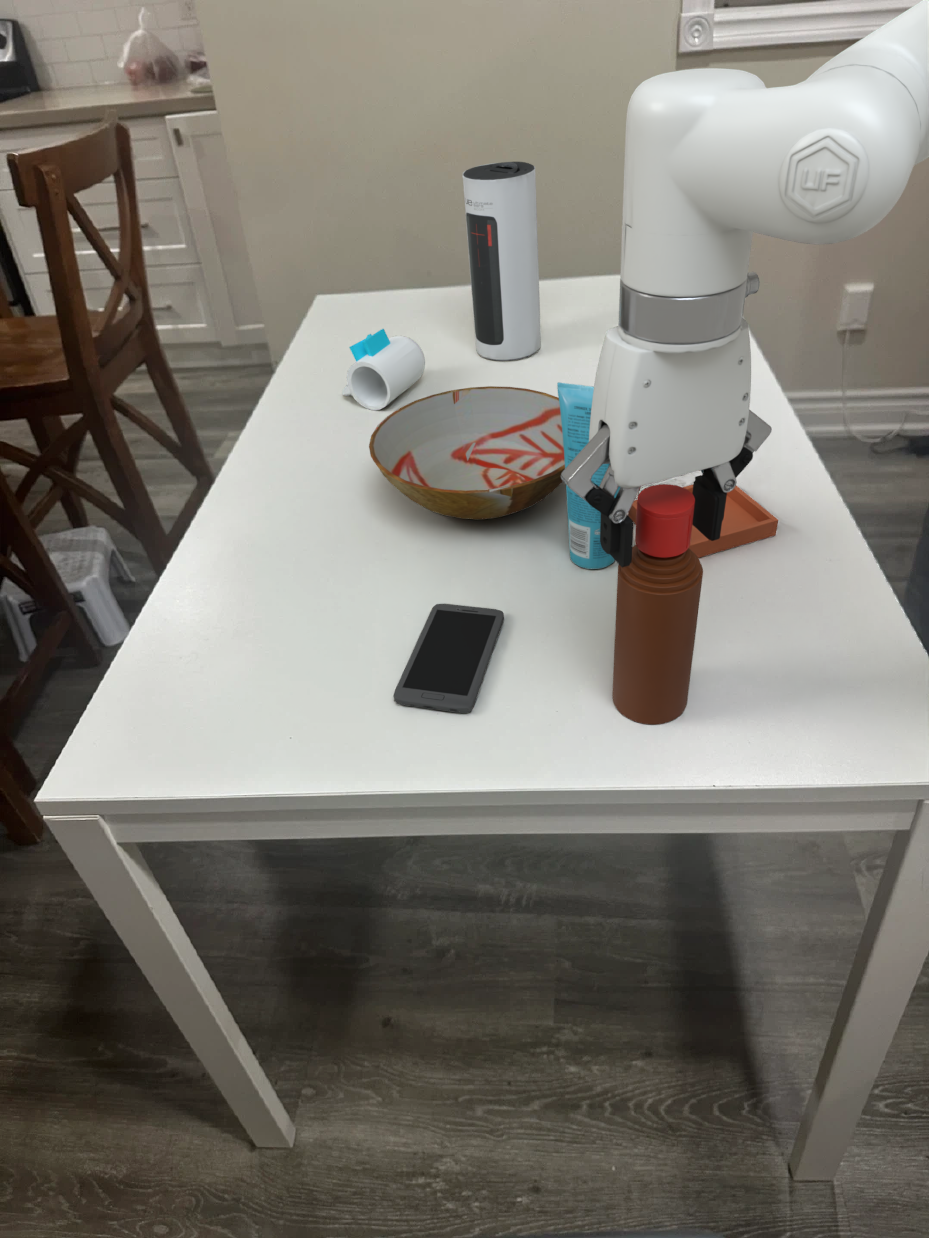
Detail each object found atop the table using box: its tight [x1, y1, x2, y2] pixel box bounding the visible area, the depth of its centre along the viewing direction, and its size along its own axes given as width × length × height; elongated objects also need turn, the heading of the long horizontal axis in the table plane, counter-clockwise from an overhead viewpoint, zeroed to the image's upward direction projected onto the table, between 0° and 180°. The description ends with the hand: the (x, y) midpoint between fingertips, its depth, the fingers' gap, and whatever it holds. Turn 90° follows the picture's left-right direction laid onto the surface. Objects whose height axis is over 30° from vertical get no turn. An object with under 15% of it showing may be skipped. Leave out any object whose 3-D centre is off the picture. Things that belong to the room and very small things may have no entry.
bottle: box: [611, 544, 704, 726], centre depth 69 cm, size 6×6×20 cm
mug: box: [341, 328, 426, 411], centre depth 126 cm, size 12×9×12 cm
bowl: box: [368, 385, 565, 521], centre depth 101 cm, size 25×25×8 cm
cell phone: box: [393, 603, 505, 714], centre depth 81 cm, size 7×14×1 cm, turn 165°
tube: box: [556, 381, 620, 570], centre depth 86 cm, size 7×5×19 cm, turn 71°
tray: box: [627, 483, 779, 559], centre depth 94 cm, size 12×10×2 cm
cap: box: [634, 483, 695, 557], centre depth 63 cm, size 4×4×4 cm
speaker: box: [462, 161, 542, 362], centre depth 128 cm, size 11×10×26 cm
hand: (661, 542), depth 65 cm, fingers open, 6 cm apart
